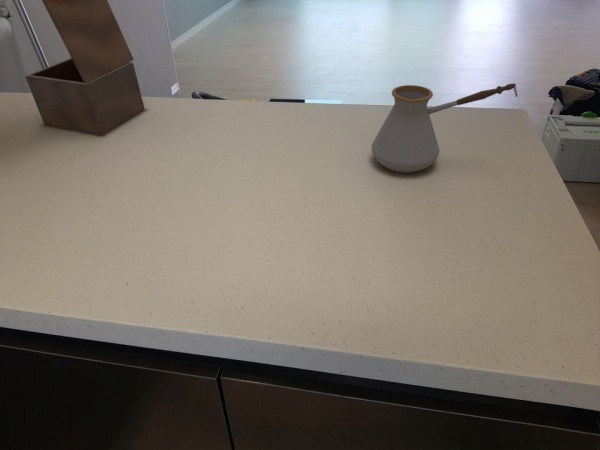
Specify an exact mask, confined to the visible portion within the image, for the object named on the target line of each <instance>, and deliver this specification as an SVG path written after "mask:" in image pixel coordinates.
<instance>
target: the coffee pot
mask: <svg viewBox="0 0 600 450" xmlns="http://www.w3.org/2000/svg"><path fill="white" fill-rule="evenodd" d="M510 90H513V92H514V95H515V98H517V97H518V92H517V91H518V90H517V84H516V83H515V82H514V83H508V84H506V85H504V86H501V85H497V86H496V87H495V88H491V89H484V90H480V91H477V92H475V93H472V94H470V95H466V96H464V97H461V98H458V99H456V100H453V101H449V102H446V103H442V104H439V105H435V106H432V107H428V103H429V101H430V100H431V99H433V96H434V92H433V91H432V90H431V89H429V87H425V86H422V85H415V84H414V85H413V84H406V85H400V86H396V87H394V88H393V89H392V90H391V96H392V97H393V99H394V104H393V106H392V108H391V109H390V111H389V113H388V115H387V116H386V119H385V120H384V122H383V124H382V126H381V127H380V129H379V131H378V132H377V134H376V136H375V138H374V140H373V141H372V143H371V153H372V155H373V157H374V159H375V160H376V161H377V162H378V163H379V164H380V165H381V166H383V167H385V168H386V169H387V170H390V171H392V172H396V173H402V174H405V173H406V174H411V173H416V172H419V171H422V170H425V169H426V168H428V167H430V166H432V165H433V163H435V161H436V160H437V159H438V157H439V156H440V155H439V154H440V147H439V143H438V140H437V136H436V133H435V129H434V126H433V123H432V118H431V114H434V113H438V112H441V111H444V110H447V109H450V108H453V107H456V106H461V105H466V104H469V103H473V102H478V101H481V100H485V99H487V98H490V97H492V96H494V95H497V94H498V95H501V94H502V93H503V92H506V91H510Z"/></svg>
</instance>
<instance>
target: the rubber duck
mask: <svg viewBox="0 0 600 450" xmlns="http://www.w3.org/2000/svg"><path fill="white" fill-rule="evenodd" d="M12 37H13V28H12V25H11V23H10V22H9V20H7V19H5V18H3V17H0V44H3V43H6V42H8V41H10V40H11V39H12Z"/></svg>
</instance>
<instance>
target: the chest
mask: <svg viewBox="0 0 600 450" xmlns="http://www.w3.org/2000/svg"><path fill="white" fill-rule="evenodd" d="M24 77H25V79H26V80H25V81H26V82H27V84H28V88H29V91H30V93H31V94H32V98H33V100H34V103H35V105H36V108H37V109H38V113H39V115H40V118H41V120H42V123H43V125H44V126H46V127H51V128H55V129H61V130H66V131H72V132H77V133H78V132H79V133H82V134H87V135H92V136H98V137H104V136H106V135H108V134H109V133H110V132H112V131H114V130H115V129H117V128H119V127H120V126H122V125H124V124H126V123H127V122H129V121H130V120H132V119H133V118H135V117H137V116H139V115H140V114H142V113H144V112H145V111H146V109H145V105H144V101H143V97H142V92H141V90H140V89H141V88H140V85H139V81H138V75H137V72H136V67H135V64H134V62H133V61H131V62H129V63H126V64H124V65H122V66H120V67H118V68H116V69H114V70H112V71H109V72H107V73H105V74H103V75H101V76H99V77H97V78H94V79H92V80H90V81H88V82H85V83H84V81H83V79H82V77H81V75H80V74H79V72H78V70H77V68H76V66H75V64H74V62H73V60H72V58H71V57H69V58H67V59H64V60H61V61H58V62H56V63H54V64H51V65H49V66H46V67H44V68H42V69H39V70H36V71H34V72H31V73H29V74H26V75H25V76H24Z"/></svg>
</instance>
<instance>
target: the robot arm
mask: <svg viewBox="0 0 600 450" xmlns="http://www.w3.org/2000/svg"><path fill="white" fill-rule="evenodd" d="M11 4H12V0H0V17H3V18H5V19H6V20H7V19H10V18H13V17H14V14H13V12H12V8H11Z"/></svg>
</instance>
